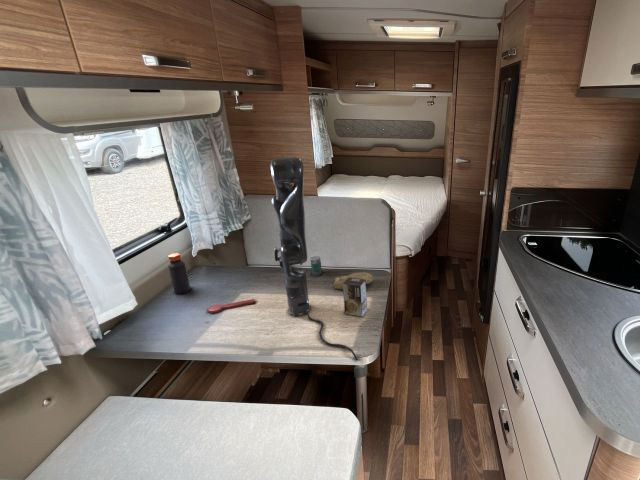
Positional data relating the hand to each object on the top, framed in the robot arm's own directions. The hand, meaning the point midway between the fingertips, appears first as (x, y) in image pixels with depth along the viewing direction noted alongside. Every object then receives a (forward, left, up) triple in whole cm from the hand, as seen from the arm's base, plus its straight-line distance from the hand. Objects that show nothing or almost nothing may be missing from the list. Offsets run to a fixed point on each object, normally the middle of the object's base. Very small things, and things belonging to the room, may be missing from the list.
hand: (291, 265), depth 163 cm
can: (+21, -14, -17) cm, 30 cm away
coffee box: (-25, -24, -17) cm, 39 cm away
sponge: (-1, -30, -17) cm, 35 cm away
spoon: (+3, +29, -17) cm, 34 cm away
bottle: (+29, +52, -17) cm, 62 cm away
